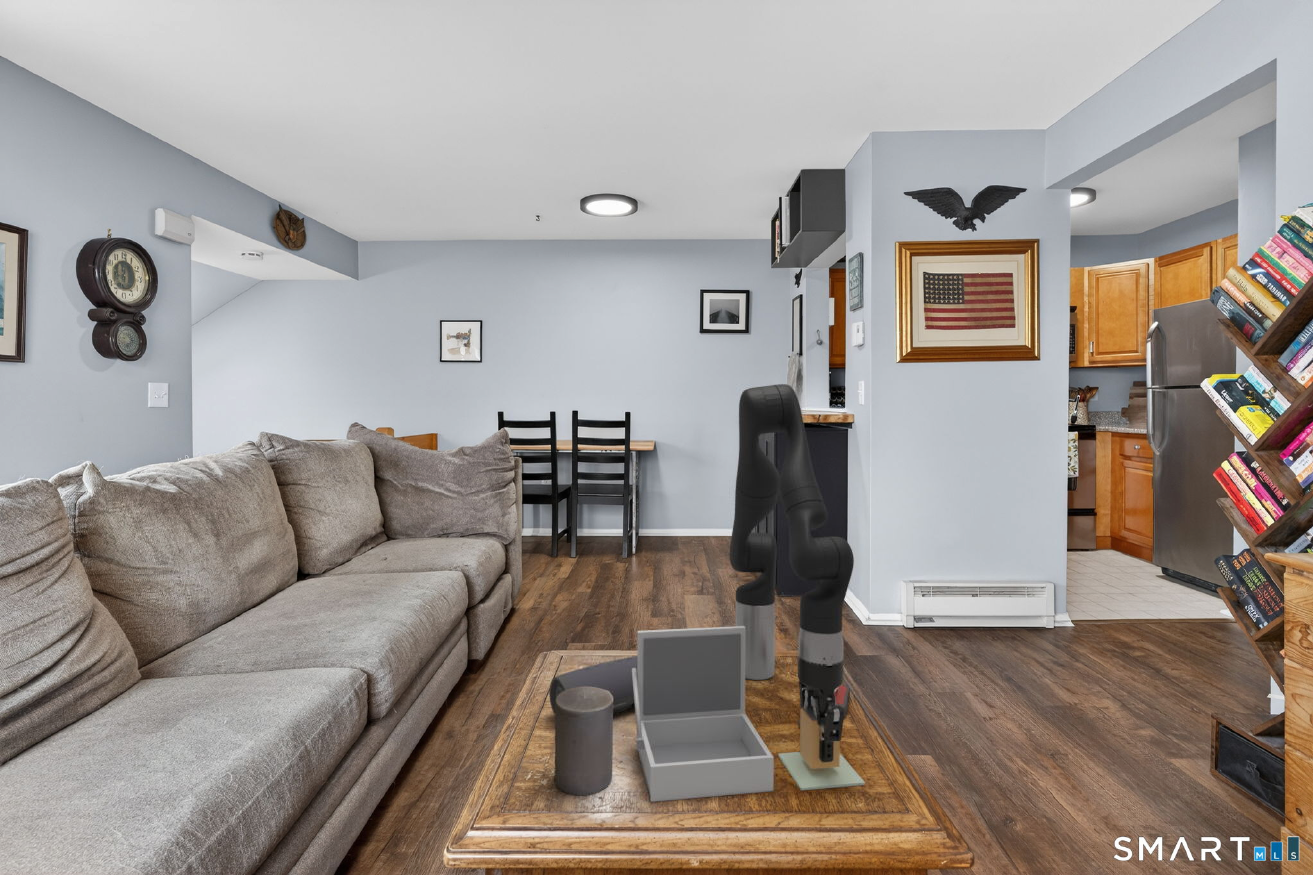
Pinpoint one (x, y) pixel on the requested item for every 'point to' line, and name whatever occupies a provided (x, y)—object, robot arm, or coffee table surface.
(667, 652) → the equipment case
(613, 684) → the bluetooth speaker
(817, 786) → the pad
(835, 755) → the block
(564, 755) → the pillar candle
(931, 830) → the coffee table surface
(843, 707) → the walkie-talkie
